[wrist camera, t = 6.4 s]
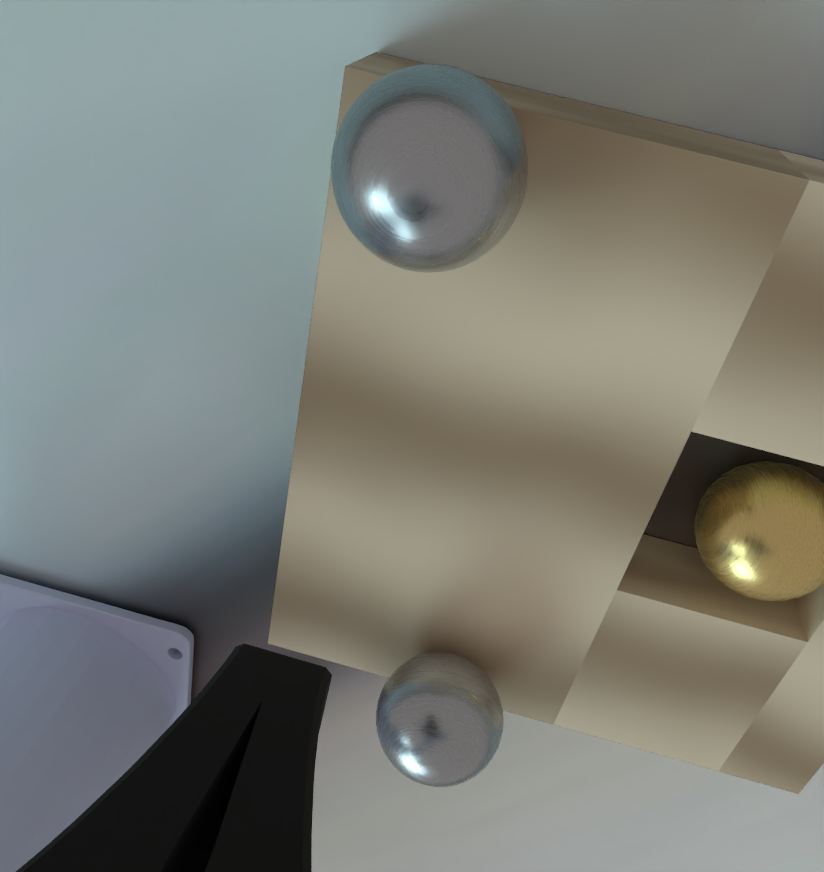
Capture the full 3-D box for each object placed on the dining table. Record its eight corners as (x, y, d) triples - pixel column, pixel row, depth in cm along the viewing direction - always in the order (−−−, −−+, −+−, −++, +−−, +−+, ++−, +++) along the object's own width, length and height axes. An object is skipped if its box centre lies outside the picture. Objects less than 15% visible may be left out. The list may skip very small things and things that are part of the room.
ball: (816, 637, 18) (689, 618, 18) (770, 532, 20) (657, 513, 20) (905, 552, 16) (764, 527, 15) (842, 446, 18) (718, 421, 18)
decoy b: (506, 257, 15) (491, 323, 12) (345, 216, 15) (294, 272, 12) (555, 78, 13) (549, 109, 10) (372, 33, 13) (320, 53, 11)
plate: (778, 718, 23) (798, 794, 21) (294, 583, 24) (267, 643, 22) (1127, 234, 15) (1215, 279, 13) (376, 52, 16) (345, 66, 14)
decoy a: (491, 721, 22) (479, 829, 19) (381, 690, 22) (353, 793, 19) (521, 644, 20) (513, 751, 17) (402, 611, 20) (375, 712, 17)
